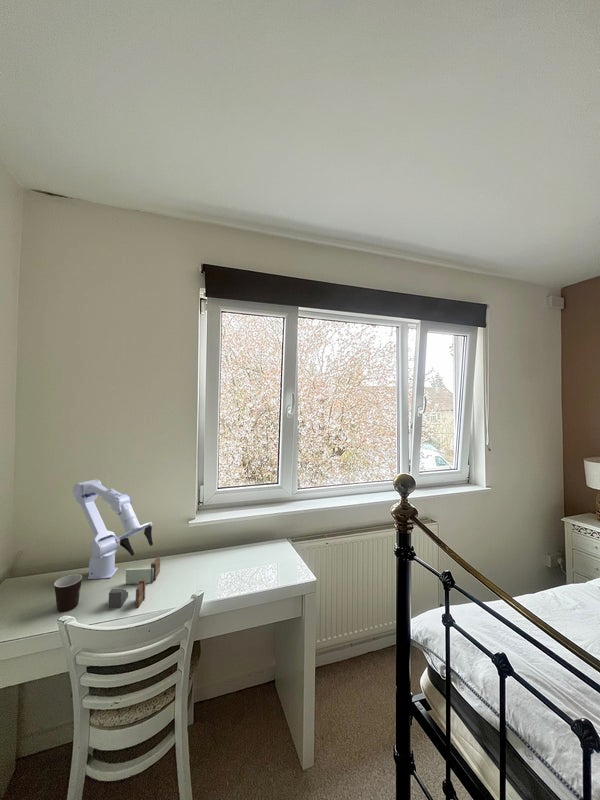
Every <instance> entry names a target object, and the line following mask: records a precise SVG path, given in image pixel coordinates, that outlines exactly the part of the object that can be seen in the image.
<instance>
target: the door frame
mask: <svg viewBox="0 0 600 800" xmlns="http://www.w3.org/2000/svg"><path fill="white" fill-rule="evenodd" d="M150 568H154V576H153V582H156V580H157V577H158V576H159V574H160V572H161V556H160V555H159V556H156V558H155V559H154V561H153V562H152V561H151V563H150ZM145 582H146V580H140V581H139V583H138V586H137V588H135V609H138V608H140V607H141V604H143V601H145V599H146V583H145Z"/></svg>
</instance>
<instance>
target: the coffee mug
mask: <svg viewBox="0 0 600 800" xmlns="http://www.w3.org/2000/svg"><path fill="white" fill-rule="evenodd" d="M82 580H83V575H81V574H78V573H77V574H76V573H74V574H69V575H65V576H62V577H60V578H58V579H56V580H55V582H54V583H53V587H54V594H55V603H56V610H57V612H58V613H67V612H70V611H72V610H74V609H76V608H77V607H78V605H79V601H80V593H81V588H82Z"/></svg>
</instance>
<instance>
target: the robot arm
mask: <svg viewBox="0 0 600 800" xmlns="http://www.w3.org/2000/svg"><path fill="white" fill-rule="evenodd" d="M72 494H73V497H74V498H75V501H76V503H77V504H79V505H80V507H81V510H82V512H83V515H84V516H85V518H86V521H87V524H88V526H89V527H90V530H91V532H92V534H93V536H94V537H93V538H92V539H91V541H90V544H89V545H90V550H91V557H90V559H89V563H88V577H87V579H88V580H95V579H99V580H100V579H111V578H112V577H113V575H114V574H115V573H117V571H118V570H119V567H116V566H115V565H116V564H115V561H116V560H115V559H116V553H117V552H118V551H117V550H118V549H119V547H120V546H121V547H122V548H123V549H125V550H126V551H127V552H128V553H129V554H130V555H131V557H133V556H134V555H135V551H134V549H133V548H132V545H131V543H130V539H129V538H131V537H134V536H135V535H137V534H139V533H141V532H143V534H144V536H145V538H146V539H147V542H148V545H149V546H150V547H151V546H153V545H154V542H153V538H152V535H153V534H152V532H153V530H152V529H153V526H154V524H153V522H152V521H149V522H145V523H144V524H140V522H139V519H138V517H137V515H136V513H135V511H134V509H133V506H132V502H133V499H132V496H131V495H130V494H129V493H121V492H119V491H117V490H115V489H114V488H107V487H105V486H104V485H102V482H101V480H99V479H98V478H95V479H91V480H86V481H82V482H76V483H75V484H73V487H72ZM99 496H100V497H101V498H102V500H103V502H106V504H107V503H108V504H109V505H110V506H111V510H112V511H114V512H115V514H116V515H118V518H119V520H120V522H121V524H122V527H123V529H124V531H125V532H124V533H123V534H121V535H118V536H116V534H115V532H114V531H111V530H109V529H107V527H106V525H105V522H104V521H103V519H102V516H101V514H100V512H99V510H98V508H97V505H96V503H95V500H97V498H98V497H99Z"/></svg>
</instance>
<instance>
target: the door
mask: <svg viewBox="0 0 600 800" xmlns="http://www.w3.org/2000/svg"><path fill="white" fill-rule="evenodd" d="M153 576H154V568H151V567H138V568H126V569H125V585H132V584H133V585H134V584H136V585H137V584H139V581H140V580H146V582H145V584H152V583H154V581H153Z"/></svg>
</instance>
